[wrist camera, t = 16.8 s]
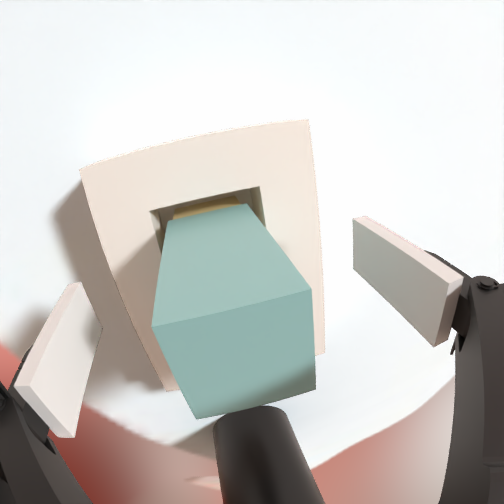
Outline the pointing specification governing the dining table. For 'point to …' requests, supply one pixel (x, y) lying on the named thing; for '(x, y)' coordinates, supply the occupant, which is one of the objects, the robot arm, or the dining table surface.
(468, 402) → the robot arm
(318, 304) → the socket block
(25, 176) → the dining table surface
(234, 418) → the water bottle
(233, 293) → the teal block
